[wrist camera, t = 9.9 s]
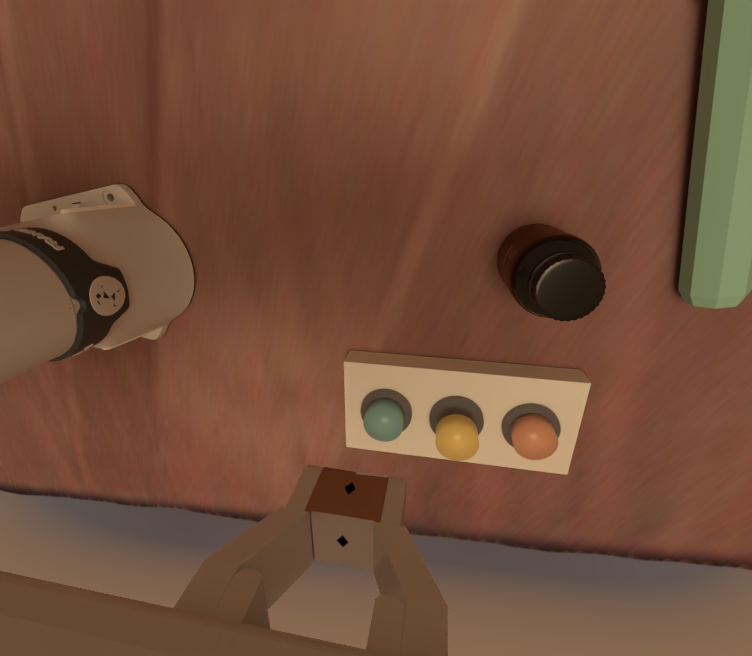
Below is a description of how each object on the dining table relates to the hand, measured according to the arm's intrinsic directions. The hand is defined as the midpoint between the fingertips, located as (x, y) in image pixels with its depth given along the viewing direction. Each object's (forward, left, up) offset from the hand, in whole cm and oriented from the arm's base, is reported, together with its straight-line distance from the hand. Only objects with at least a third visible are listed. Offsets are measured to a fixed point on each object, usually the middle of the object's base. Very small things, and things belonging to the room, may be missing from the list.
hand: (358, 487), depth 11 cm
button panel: (+5, -17, -31) cm, 36 cm away
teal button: (-3, -17, -27) cm, 32 cm away
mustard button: (+5, -17, -26) cm, 31 cm away
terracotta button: (+13, -17, -27) cm, 35 cm away
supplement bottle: (+11, +1, -31) cm, 33 cm away
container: (+24, +10, -32) cm, 41 cm away
